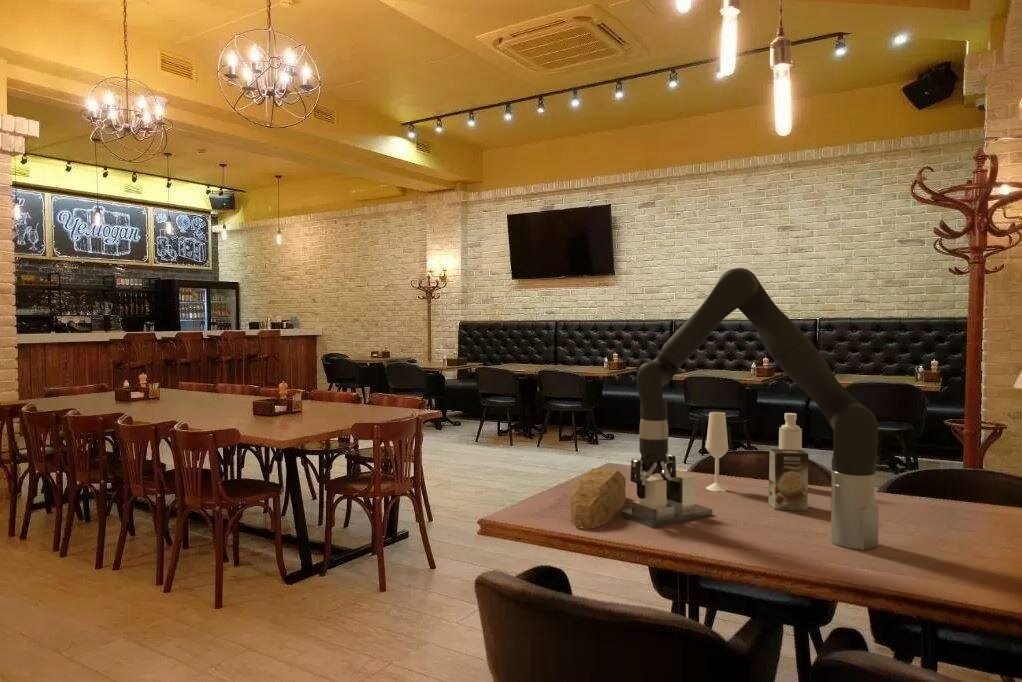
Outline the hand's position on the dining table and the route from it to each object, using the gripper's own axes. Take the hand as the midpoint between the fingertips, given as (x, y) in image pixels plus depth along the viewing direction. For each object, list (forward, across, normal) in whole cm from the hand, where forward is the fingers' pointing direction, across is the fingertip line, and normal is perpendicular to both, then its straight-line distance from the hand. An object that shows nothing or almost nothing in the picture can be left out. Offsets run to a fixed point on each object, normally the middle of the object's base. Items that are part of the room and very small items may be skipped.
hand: (653, 495), depth 181 cm
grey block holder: (+6, +5, 0) cm, 8 cm away
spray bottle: (+6, +60, +2) cm, 61 cm away
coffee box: (+6, +40, -12) cm, 42 cm away
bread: (+7, -7, +14) cm, 17 cm away
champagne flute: (+6, +39, +13) cm, 42 cm away
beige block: (+4, 0, 0) cm, 5 cm away
